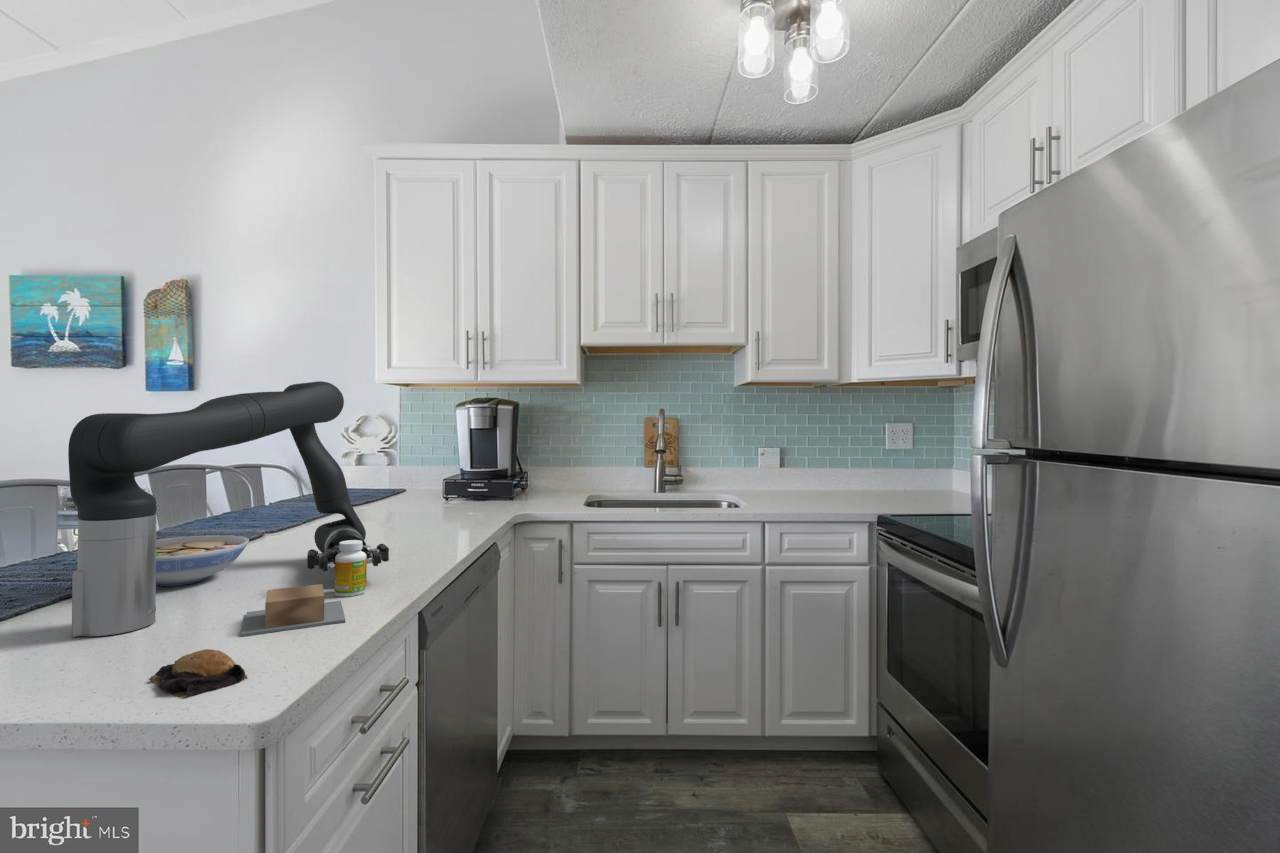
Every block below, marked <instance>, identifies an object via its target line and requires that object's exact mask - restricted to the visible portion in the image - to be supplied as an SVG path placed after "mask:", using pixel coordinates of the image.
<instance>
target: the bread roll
mask: <svg viewBox="0 0 1280 853" xmlns="http://www.w3.org/2000/svg"><path fill="white" fill-rule="evenodd" d="M149 679H150V681H151V682H152V683H153V684H154V685H155V686H156V687H157V688H159V689H160V690H161V691H163V692H164V693H166V694H169V695H170V696H173V697H175V698H178V699H179V698H182V697H184V696H185V699H188V698H192V697H195V696H199V695H202V694H206V693H209V692H213V691H217V690H219V689H224V688H228V687H231V686H235V685H237V684H238V683H241V682H242V681H244V680H248V675H246V671H245V669H244V668H243V667H242V665H241V664H237V663H236V662H235V660H233V659H232V658H231V656H229V655H228V654H227V653H225V652H223V651H221V650H218V649H216V650H215V649H212V648H211V649H210V648H209V649H205V648H204V649H201V650H197V651H194V652H192V653H188V654H185V655H183V656H181V657H179V658H178V659H176V660H175V661H174V663H172V664H167V665H163V666H160V667H159V669H158V671H157V672H156V673H154V675H152V676H150V678H149Z"/></svg>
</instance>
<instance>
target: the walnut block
mask: <svg viewBox="0 0 1280 853" xmlns="http://www.w3.org/2000/svg"><path fill="white" fill-rule="evenodd" d="M264 603H265V608H264V610H265V629H267V628H274V627H282V626H289V625H296V624H304V623H311V622H318V621H324V603H325V592H324V586H323V583H321V584H320V583H319V584H311V585H303V586H302V585H301V586H293V587H284V588H276V589H275V588H274V589H267V592H266V598H265V602H264Z"/></svg>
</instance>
